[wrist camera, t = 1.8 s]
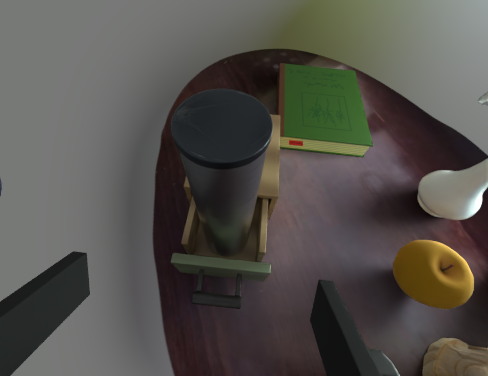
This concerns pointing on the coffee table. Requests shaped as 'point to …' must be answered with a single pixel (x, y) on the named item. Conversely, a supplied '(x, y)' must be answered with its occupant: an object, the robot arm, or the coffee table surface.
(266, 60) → the coffee table surface
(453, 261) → the apple
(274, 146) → the cabinet
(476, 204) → the flower vase
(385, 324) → the coffee table surface
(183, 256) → the drawer
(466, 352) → the statue
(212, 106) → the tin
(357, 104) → the book
